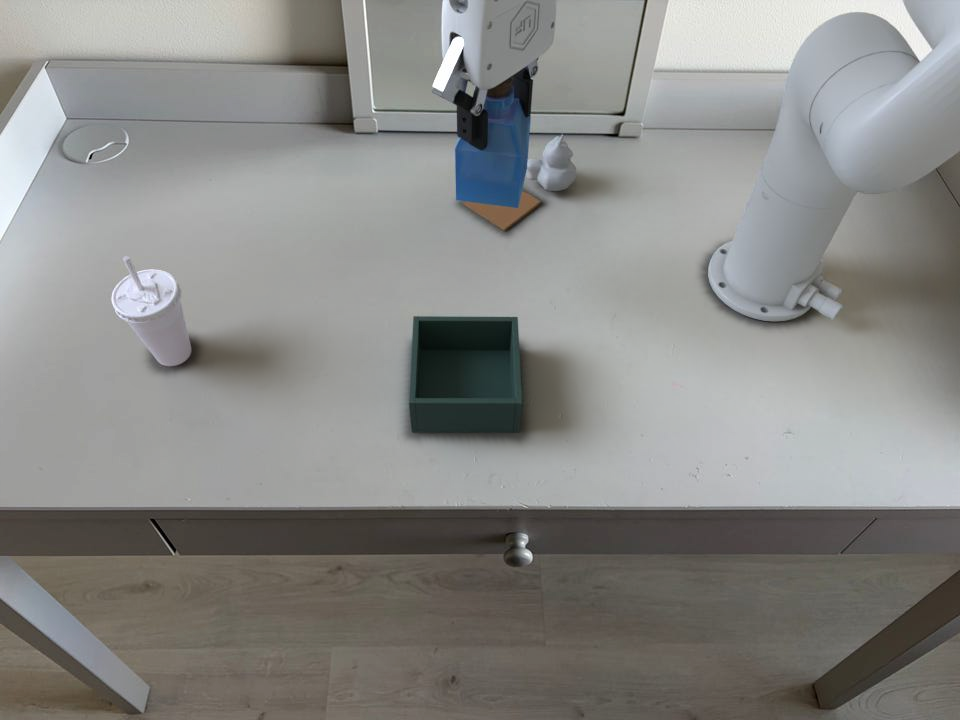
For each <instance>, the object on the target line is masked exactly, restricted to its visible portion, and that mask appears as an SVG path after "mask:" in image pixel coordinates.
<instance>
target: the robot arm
mask: <svg viewBox="0 0 960 720" xmlns="http://www.w3.org/2000/svg"><path fill="white" fill-rule="evenodd" d="M557 1H558V0H442V5H441V55H442V63H441V66H440V68H439V70H438V72H437V74H436V77H435V79H434V81H433V83H432V86H431V93H432V94H434V95H436V96H437V97H439V98H442V99H443V100H445V101H448V102H450V103H451V104H453V105H455V106H456V135H457V138H458V137H459V138H460V137H461V139H463V140H464V141H466V142H468V143H469V144H470V145H472V146H474V147H475V148H477V149H479V150H481V151H482V150H484V149H485V148H486V147H487V142H488V112H487V111H486V110H485V109H483V107H484V103H485V99H486V95H487V90H488V89H491V88H493V87H495V86H497V85H499V84H500V83H502V82H503V81H505V80H506V79H508V78H509V77H511V76H512V75H513V81H512V85H513V87H514V98H515V99H519V100H520V103H521V106H522V109H523V112H524V115H525V117H526V118H527V117H529V116H530V115H531V114H532V101H533V88H534V87H533V86H534V79H533V78H535V77H536V76H537V74H538V71H539V63H538V61H539V58H540V57H542V56H543V55H544V54H545V53H546V52H547V51H548V50H549V49H550V48H551V46H552V45H553V44H554V40H555V39H554V38H555V32H556V21H557ZM902 3H903V5H904V7H905V9H906V12H907V13H908V15H909V17H910V19H911V20H912V22H913V24H914V25H915V27H916V28H917V29H918V32H920V34H921V35H922V37H923V39H924V40H925V41H926V43H927V44H928V45H929V47H930V48H931V50H930V51H929V53H928V54H926V55H925V57H923V58H922V60H920V59H919V57H918V56H917V54H916V53H915V51H914V50H913V49H912V47H911V45H910V44H909V42H908V41H907V39H906V38H905V37H904V35H902V33H901V32H900V31H899V30H898V29H897V28H896V26H894V25H893V24H891V23H890V22H889V21H888V20H886V19H885V18H883V17H881V16H879V15H876V14H874V13H870V12H863V11H853V12H852V11H851V12H846V13H842V14H838V15H836V16H833V17H831V18H830V19H827V20H826V21H824V22H822V23H821V24H819V25H818V26H817V27H816V28H815V29H814V30H813V31H811V32H810V34H809V35H808V36H807V37H806V38H805V39H804V40H803V42H802V43H801V45H800V46H799V48H798V49H797V52H796V53H795V55H794V57H793V59H792V62H791V64H790V67H789V70H788V73H787V78H786V81H785V84H784V91H783V96H782V101H781V106H780V109H779V110H780V111H779V116H778V119H777V122H776V126H775V129H774V132H773V135H772V139H771V141H770V145H769V147H768V150H767V152H766V155H765V157H764V160H763V163H762V164H761V167H760V169H759V172H758V174H757V177H756V180H755V183H754V185H753V186H752V187H753V188H752V189H751V193H750V196H749V198H748V200H747V204H746V206H745V208H744V211H743V214H742V216H741V218H740V221H739V224H738V226H737V229H736V231H735V234H734V236H733V239H732V240H730V241H728V242H725V243H724V244H722V245H721V246H719V247H718V248H717V249H716V250H715V252H713V254H712V256H711V258H710V261H709V264H708V268H707V277H708V282H709V284H710V286H711V289H712V291H713V292H714V293H715V295H716V296H717V298H719V300H721V301H722V303H723V304H725V305H727V306H728V307H729V308H731V309H732V310H733V311H735V312H737V313H739V314H741V315H743V316H746V317H748V318H752V319H754V320H759V321H765V322H786V321H791V320H794V319H796V318H799V317H801V316H803V315H804V314H806V313H807V312H808V311H809V310H810V309H811V308H813V309H815V310H816V311H818V314H820V315H823V316H824V317H826V318H828V319H830V320H831V321H834V320H835V319H836V318H837V316H838V315H839V314H840V312H841V310H842V309H843V307H844V305H843V304H841V303H840V302H838V301H836V300H837V298H838V297H839V296H840V295H841V293H842V291H843V289H842V288H840V287H838V286H836V285H835V284H833V283H830V282H828V281H826V280H825V276H823V275H821V274H822V272H823V270H824V269H825V266H826V264H827V263H826V262H824V261H822V259H823V257H824V255H825V253H826V251H827V250H828V247H829V245H830V243H831V242H832V241H833V240H832V239H834V236H835V234H836V232H837V230H838V229H839V226H840V224H841V223H842V220H843V219H844V217H845V215H846V213H847V211H848V210H849V207H850V206H851V204H852V202H853V200H854V198H855V197H856V196H857V193H860V194H864V195H882V194H887V193H891V192H895V191H898V190H900V189H902V188H905V187H907V186H909V185H911V184H913V183H915V182H917V181H919V180H920V179H922V178H924V177H925V176H927V175H928V174H930V173H932V172H933V171H935V170H936V169H937V168H939V167H940V166H942V165H943V164H944V163H946V162H947V161H949V160H950V159H951V158H952V157H954V156H955V155H956V154H958V153H959V152H960V0H902ZM468 82H469V83H471V85H472V86H474V90H473V94H472V96H471V94H469V93H467V87H468V84H469V83H468ZM822 293H823V294H822Z"/></svg>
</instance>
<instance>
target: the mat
mask: <svg viewBox="0 0 960 720" xmlns="http://www.w3.org/2000/svg"><path fill="white" fill-rule="evenodd" d="M462 202H463V203H462V205H463V206H464V207H466V208H468V209H469V210H471V211H473V212H474V213H475V214H477V215H479V216H480V217H481V218H483V219H485V220H486V221H488V222H490V223H491V224H493V225H494V226H496V227H497V228H498V229H500V230H502V231H503V232H505V231H507V230H508V229H510V228H511V227H512V226H513V225H515V224H516V223H518V222H519V221H521V220H522V219H523V218H524V217H525V216H527V215H528V214H529V213H531V212H532V211H533V210H534V209H536V208H537V207H539V206H540V205H541V204H542V200H540V199H538V198H536V197H535V196H534V195H531V194H530V193H528V192H526V191H525V190H523V189H522V193H521V198H520V203H519V207H518V208H513V207H505V206H498V205H490V204H482V203H474V202H467V201H462Z"/></svg>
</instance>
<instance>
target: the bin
mask: <svg viewBox="0 0 960 720" xmlns="http://www.w3.org/2000/svg"><path fill="white" fill-rule="evenodd" d="M412 317H413V318H412V336H411V337H412V338H411V352H410V353H411V355H410V371H409V372H410V374H409V375H410V376H409V395H408V407H409V409H408V410H409V419H410V429H411V431H410V432H411V433H519V432H520V425H521V417H522V407H523V393H522V391H523V389H522V373H521V372H522V371H521V356H520V354H521V352H520V335H519V318H518V316H443V315H442V316H439V315H438V316H431V315H429V316H427V315H425V316H424V315H423V316H419V315H415V316H414V315H413V316H412Z"/></svg>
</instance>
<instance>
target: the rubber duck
mask: <svg viewBox="0 0 960 720" xmlns="http://www.w3.org/2000/svg"><path fill="white" fill-rule="evenodd" d="M573 157H574V152H573V151H572V149H571V148H569V145H568V143H567V141H566V140H564V134H563V133H562V134H561V135H560V136H559V135H557V136H555V137H554V138H553V139H551V140H550V141H549V142H548V143H547V144H546V146H545V147H544V150H543V152H542V157H541V158H528V162H527V170H526V175H525V177H527V179H529V180H532V181H537V182H538V183H539V184H540V186H541V187H542V188H543V189H544V190H545V191H547V192H548V191H549V192H559V191H564V190H566V189H568V188H569V187H570V186H571V185H572V184H573V183H574V181H575V180H576V177H577V173H578V172H577V171H578V170H577V167H576V165H575V164H574V162H573V161H572V160H571V159H572V158H573Z"/></svg>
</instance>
